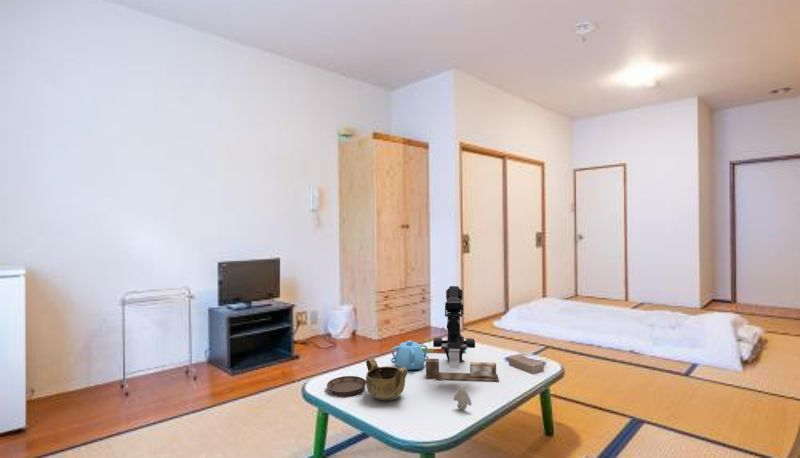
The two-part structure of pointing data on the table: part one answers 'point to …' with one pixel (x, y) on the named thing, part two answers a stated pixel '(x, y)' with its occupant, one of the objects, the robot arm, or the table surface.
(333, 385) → the plant saucer
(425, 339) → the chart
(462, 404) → the arrowhead
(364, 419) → the table surface
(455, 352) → the white chair-shaped block
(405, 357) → the decorative pot
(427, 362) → the wooden shelf
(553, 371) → the table surface
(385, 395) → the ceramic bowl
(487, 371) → the wall mounted shelf tray
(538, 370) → the brick
